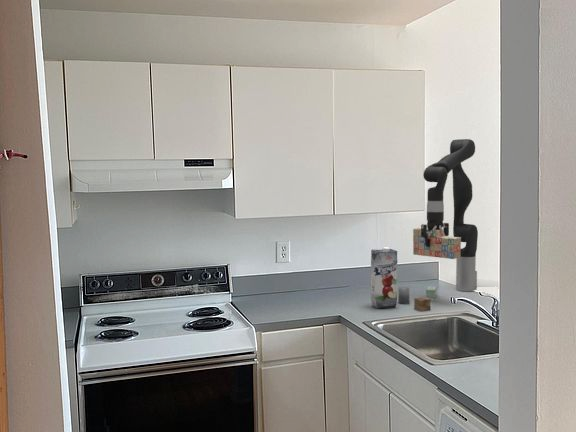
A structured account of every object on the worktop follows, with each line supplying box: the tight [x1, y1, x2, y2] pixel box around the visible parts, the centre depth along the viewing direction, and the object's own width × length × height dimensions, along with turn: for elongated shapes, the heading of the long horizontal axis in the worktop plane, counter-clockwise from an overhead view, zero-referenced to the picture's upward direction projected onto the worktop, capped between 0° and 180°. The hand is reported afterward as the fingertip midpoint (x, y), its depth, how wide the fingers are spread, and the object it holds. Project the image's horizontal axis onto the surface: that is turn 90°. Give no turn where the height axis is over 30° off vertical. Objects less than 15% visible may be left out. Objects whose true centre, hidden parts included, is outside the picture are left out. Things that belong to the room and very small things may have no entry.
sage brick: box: [425, 286, 437, 299], centre depth 289 cm, size 8×4×4 cm, turn 161°
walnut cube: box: [413, 296, 432, 313], centre depth 263 cm, size 5×5×5 cm
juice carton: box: [370, 246, 398, 310], centre depth 268 cm, size 9×10×27 cm
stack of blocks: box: [412, 227, 462, 260], centre depth 275 cm, size 21×6×12 cm, turn 44°
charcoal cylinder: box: [397, 286, 410, 305], centre depth 275 cm, size 5×5×7 cm
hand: (434, 246), depth 275 cm, fingers closed on stack of blocks, 7 cm apart
